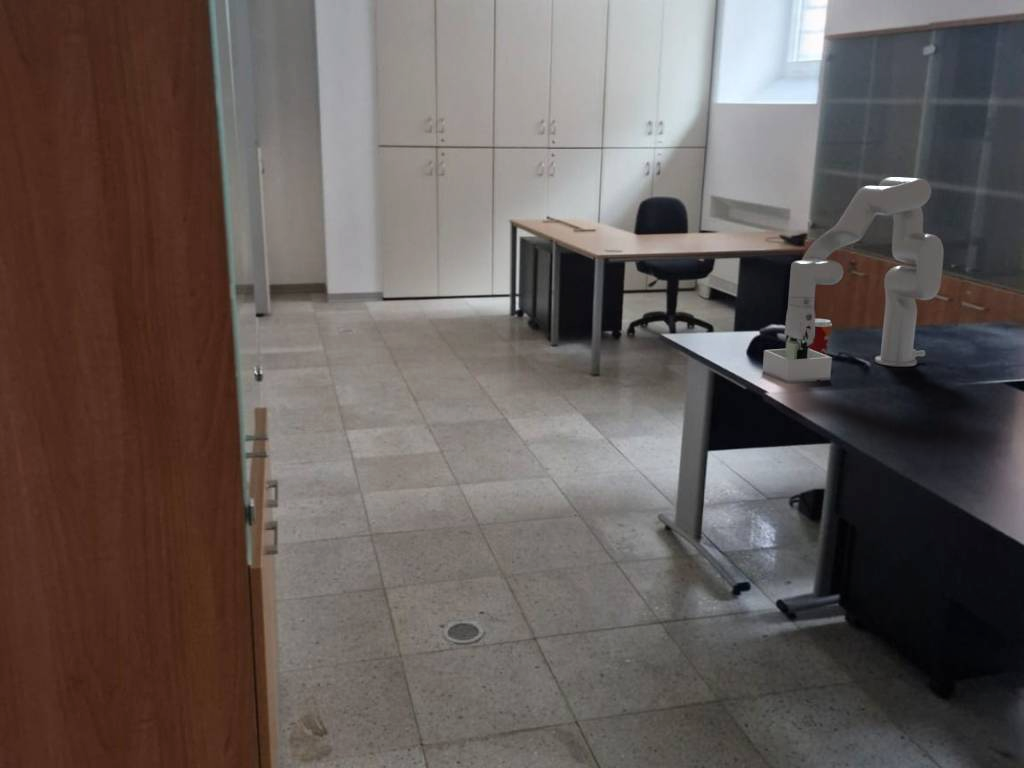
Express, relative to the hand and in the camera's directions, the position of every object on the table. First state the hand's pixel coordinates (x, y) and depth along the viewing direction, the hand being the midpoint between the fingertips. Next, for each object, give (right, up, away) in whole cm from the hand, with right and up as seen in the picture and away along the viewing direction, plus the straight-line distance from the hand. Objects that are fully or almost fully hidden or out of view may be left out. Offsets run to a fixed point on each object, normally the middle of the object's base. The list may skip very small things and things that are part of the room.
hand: (796, 359), depth 278 cm
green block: (0, -1, 0) cm, 1 cm away
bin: (0, -5, +1) cm, 5 cm away
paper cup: (+12, -1, +18) cm, 22 cm away
